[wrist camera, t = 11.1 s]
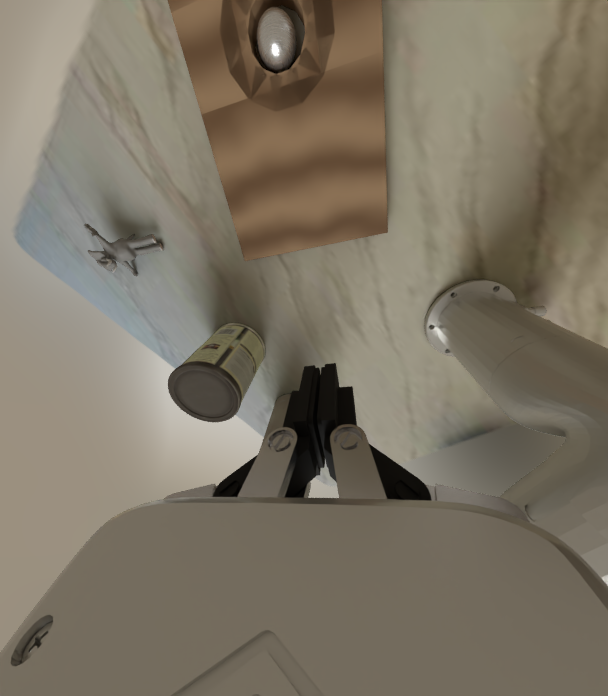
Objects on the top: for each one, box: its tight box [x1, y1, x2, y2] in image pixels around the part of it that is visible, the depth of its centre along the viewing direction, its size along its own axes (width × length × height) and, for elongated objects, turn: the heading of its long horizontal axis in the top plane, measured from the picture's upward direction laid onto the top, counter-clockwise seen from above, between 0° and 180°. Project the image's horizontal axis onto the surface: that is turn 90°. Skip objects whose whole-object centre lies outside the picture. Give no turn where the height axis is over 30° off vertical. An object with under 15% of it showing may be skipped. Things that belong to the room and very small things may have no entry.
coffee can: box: [168, 323, 265, 422], centre depth 38 cm, size 10×10×14 cm
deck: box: [168, 0, 388, 261], centre depth 27 cm, size 28×20×2 cm
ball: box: [257, 7, 296, 72], centre depth 24 cm, size 4×4×4 cm
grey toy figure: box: [84, 224, 163, 277], centre depth 35 cm, size 10×6×9 cm
